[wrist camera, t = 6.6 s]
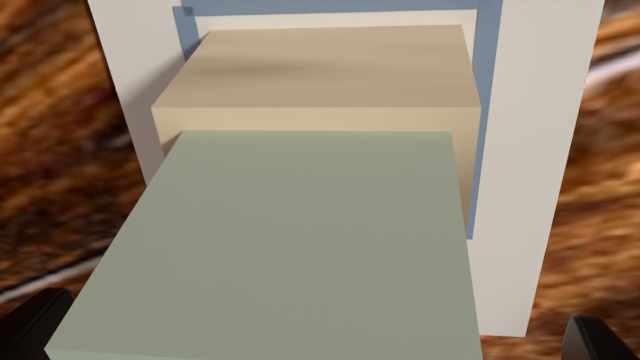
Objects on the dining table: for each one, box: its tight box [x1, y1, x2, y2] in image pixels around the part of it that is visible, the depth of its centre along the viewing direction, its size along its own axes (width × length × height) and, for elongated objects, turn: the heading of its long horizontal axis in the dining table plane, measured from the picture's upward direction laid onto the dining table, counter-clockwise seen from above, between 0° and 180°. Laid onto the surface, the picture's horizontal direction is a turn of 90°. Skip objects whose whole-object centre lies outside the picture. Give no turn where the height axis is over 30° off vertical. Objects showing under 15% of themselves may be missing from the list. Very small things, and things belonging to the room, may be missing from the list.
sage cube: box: [44, 130, 483, 360], centre depth 9 cm, size 5×5×5 cm
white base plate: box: [88, 0, 605, 337], centre depth 15 cm, size 16×12×1 cm
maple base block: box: [151, 24, 481, 233], centre depth 13 cm, size 6×6×4 cm
